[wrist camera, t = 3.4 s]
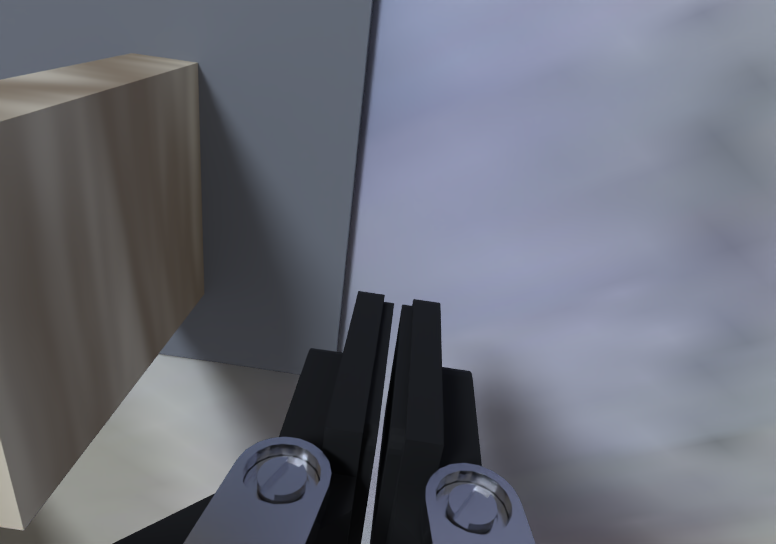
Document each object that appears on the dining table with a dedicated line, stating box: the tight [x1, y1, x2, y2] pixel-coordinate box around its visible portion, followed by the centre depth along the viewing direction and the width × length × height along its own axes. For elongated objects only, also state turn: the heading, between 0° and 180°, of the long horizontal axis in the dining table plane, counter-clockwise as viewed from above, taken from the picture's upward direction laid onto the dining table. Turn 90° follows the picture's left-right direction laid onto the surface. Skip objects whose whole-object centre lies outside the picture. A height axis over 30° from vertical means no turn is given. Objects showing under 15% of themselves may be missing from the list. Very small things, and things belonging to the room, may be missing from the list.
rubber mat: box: [0, 0, 373, 375], centre depth 19 cm, size 20×14×1 cm
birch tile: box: [0, 53, 204, 531], centre depth 14 cm, size 2×8×10 cm, turn 172°
